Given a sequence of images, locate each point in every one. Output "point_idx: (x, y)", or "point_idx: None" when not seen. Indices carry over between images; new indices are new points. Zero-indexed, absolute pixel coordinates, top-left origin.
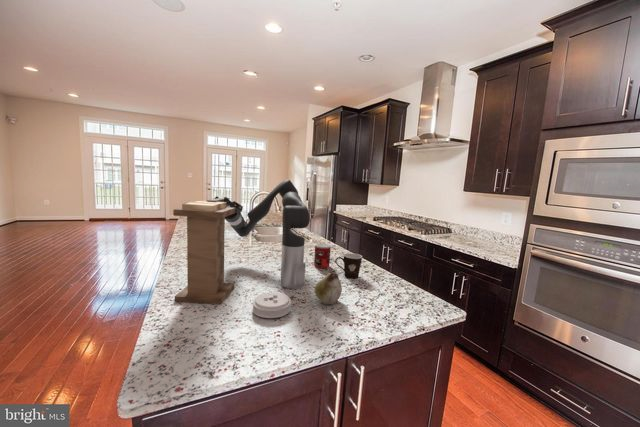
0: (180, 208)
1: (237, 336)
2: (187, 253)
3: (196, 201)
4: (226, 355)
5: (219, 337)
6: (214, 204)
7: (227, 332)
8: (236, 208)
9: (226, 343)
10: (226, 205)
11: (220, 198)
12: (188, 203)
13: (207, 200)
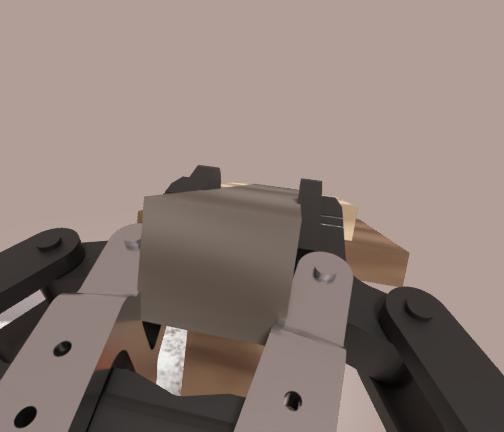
0: (360, 223)
1: (158, 355)
2: None
3: (346, 203)
4: (176, 333)
5: (184, 357)
6: (236, 184)
7: (171, 364)
8: (13, 345)
9: (175, 347)
10: (173, 408)
11: (264, 195)
12: (325, 195)
13: (295, 189)
